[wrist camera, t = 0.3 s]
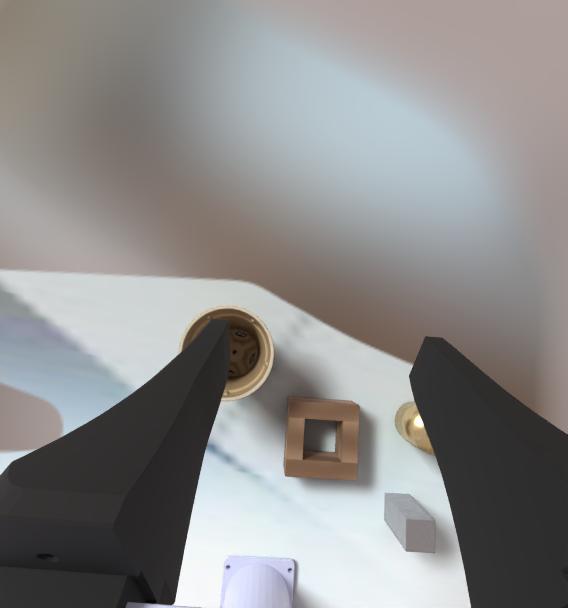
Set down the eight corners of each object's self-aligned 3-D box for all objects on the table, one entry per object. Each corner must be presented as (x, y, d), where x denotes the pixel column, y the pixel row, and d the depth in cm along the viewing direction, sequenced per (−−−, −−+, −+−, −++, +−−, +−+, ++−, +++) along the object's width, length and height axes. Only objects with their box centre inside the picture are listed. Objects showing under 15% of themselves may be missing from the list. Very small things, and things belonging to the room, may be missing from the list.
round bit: (432, 442, 39) (455, 456, 34) (394, 440, 39) (412, 453, 34) (432, 402, 40) (455, 410, 35) (395, 400, 40) (413, 407, 35)
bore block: (349, 468, 38) (357, 480, 35) (283, 464, 38) (285, 476, 34) (351, 400, 39) (359, 405, 36) (288, 396, 39) (289, 401, 36)
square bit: (408, 521, 38) (434, 552, 32) (384, 519, 38) (405, 551, 32) (409, 494, 38) (435, 520, 32) (384, 492, 38) (406, 519, 32)
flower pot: (269, 312, 41) (269, 301, 32) (276, 386, 39) (278, 396, 31) (196, 318, 40) (176, 309, 31) (200, 394, 39) (180, 406, 30)
